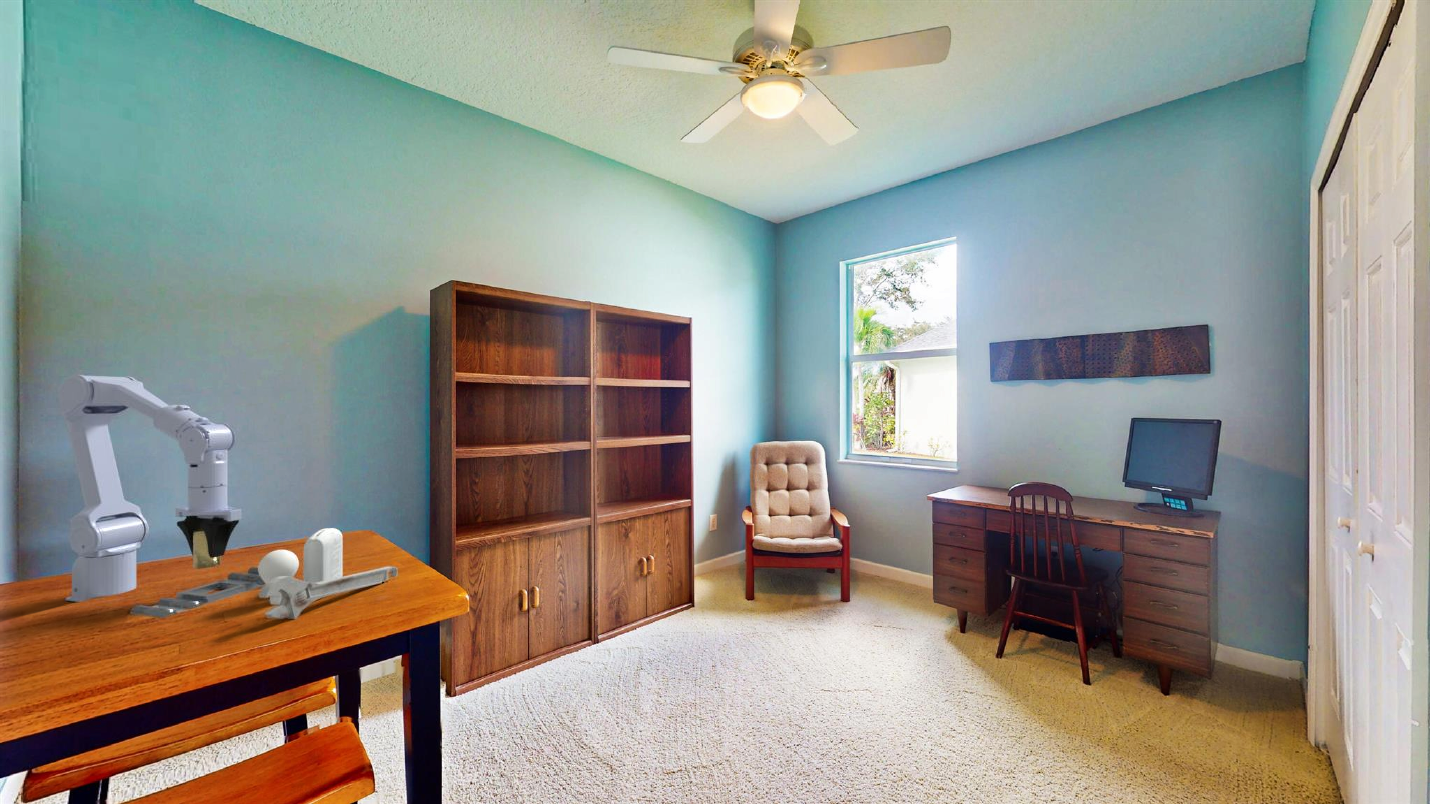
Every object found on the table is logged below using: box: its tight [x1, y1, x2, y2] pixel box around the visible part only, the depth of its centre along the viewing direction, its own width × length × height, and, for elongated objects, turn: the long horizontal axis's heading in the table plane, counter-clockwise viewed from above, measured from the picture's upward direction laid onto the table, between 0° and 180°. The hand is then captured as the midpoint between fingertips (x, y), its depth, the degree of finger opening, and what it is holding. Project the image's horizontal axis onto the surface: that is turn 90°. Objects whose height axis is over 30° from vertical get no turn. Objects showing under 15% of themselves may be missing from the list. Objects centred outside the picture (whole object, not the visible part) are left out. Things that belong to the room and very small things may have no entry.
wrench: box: [258, 566, 399, 620], centre depth 111 cm, size 8×2×30 cm
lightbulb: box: [257, 549, 300, 606], centre depth 107 cm, size 6×6×11 cm
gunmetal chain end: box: [176, 566, 265, 604], centre depth 114 cm, size 8×15×3 cm, turn 166°
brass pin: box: [192, 529, 222, 570], centre depth 110 cm, size 4×4×7 cm
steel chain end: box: [130, 588, 247, 619], centre depth 107 cm, size 8×15×2 cm, turn 166°
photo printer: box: [302, 527, 344, 583], centre depth 118 cm, size 10×4×12 cm, turn 13°
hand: (208, 555), depth 110 cm, fingers closed on brass pin, 4 cm apart
